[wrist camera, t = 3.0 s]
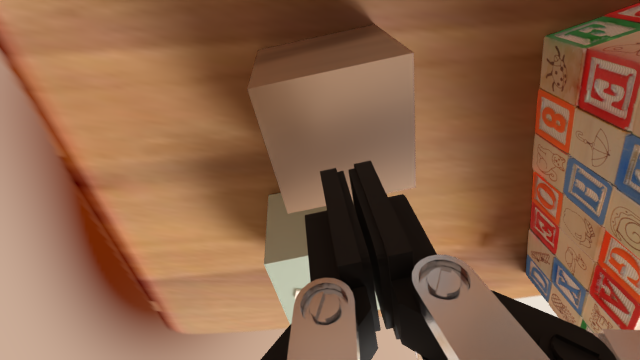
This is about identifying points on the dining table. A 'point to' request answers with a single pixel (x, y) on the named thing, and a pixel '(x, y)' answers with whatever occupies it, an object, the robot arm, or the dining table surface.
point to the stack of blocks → (589, 174)
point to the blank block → (336, 111)
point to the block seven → (287, 251)
